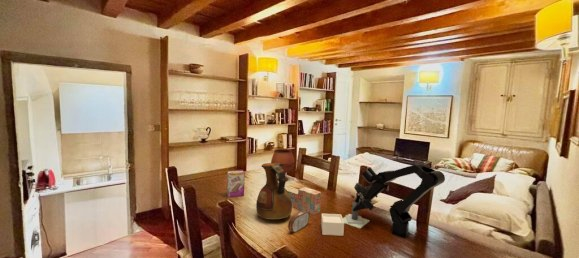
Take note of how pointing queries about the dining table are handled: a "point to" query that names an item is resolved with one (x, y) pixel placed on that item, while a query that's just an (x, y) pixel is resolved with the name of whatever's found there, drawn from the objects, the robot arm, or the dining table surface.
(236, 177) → the candy bar box
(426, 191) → the robot arm
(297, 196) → the stack of blocks
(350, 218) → the lid
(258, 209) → the ceramic pitcher
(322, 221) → the box
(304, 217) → the tin
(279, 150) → the brown clay pot
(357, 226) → the mat
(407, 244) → the dining table surface
